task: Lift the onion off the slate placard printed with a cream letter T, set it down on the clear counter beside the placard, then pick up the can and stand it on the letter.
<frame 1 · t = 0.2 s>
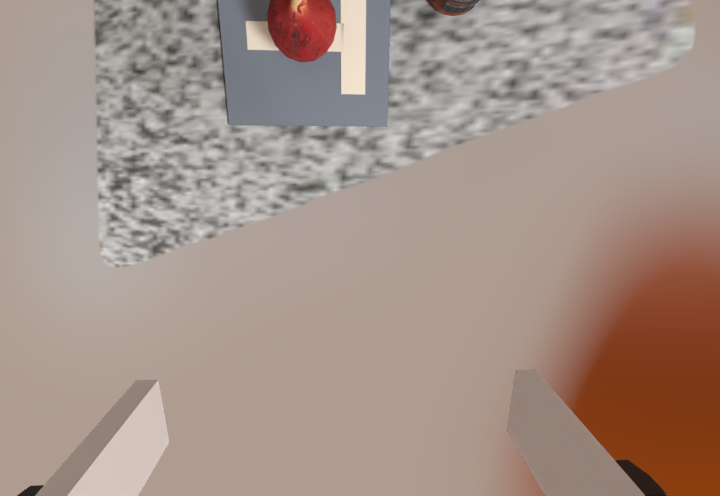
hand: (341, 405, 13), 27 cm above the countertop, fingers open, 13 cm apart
letter card: (306, 38, 34), on the countertop
onion: (306, 37, 34), resting on letter card
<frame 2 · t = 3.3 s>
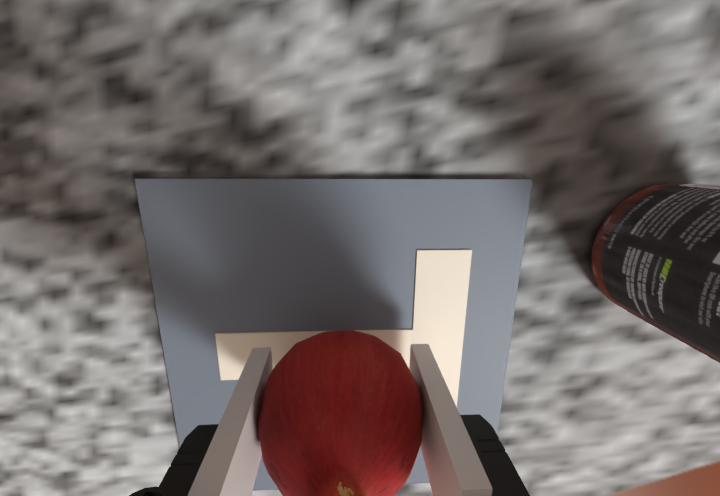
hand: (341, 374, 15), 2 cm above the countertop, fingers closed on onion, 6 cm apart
letter card: (341, 350, 17), on the countertop
supplement bottle: (643, 244, 16), on the countertop
onion: (341, 352, 16), resting on letter card, touching gripper
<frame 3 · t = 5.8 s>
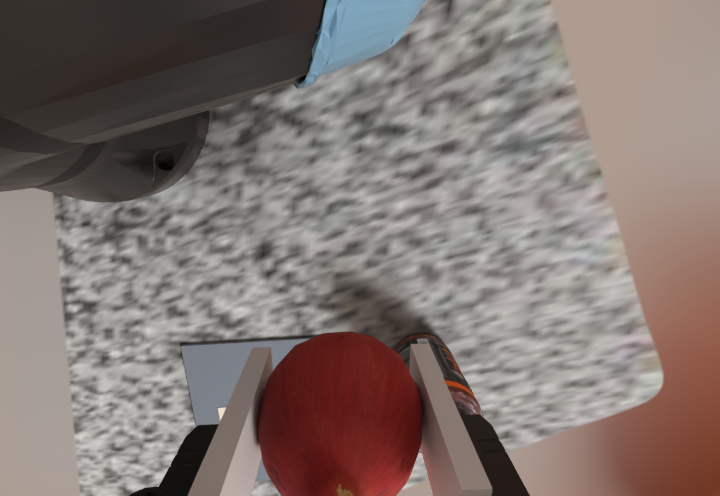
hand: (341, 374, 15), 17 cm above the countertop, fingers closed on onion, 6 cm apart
letter card: (278, 411, 35), on the countertop
supplement bottle: (418, 357, 34), on the countertop
onion: (341, 353, 16), point 15 cm above the countertop, touching gripper
when the fingers open (3 cm above the countertop, at t = 8.5 s): onion drops 1 cm, on the countertop.
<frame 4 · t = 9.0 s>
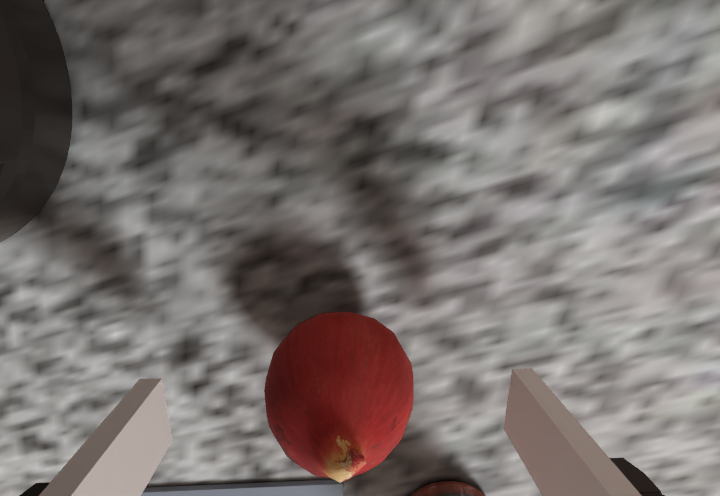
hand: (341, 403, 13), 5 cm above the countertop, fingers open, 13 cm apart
onion: (340, 336, 18), on the countertop
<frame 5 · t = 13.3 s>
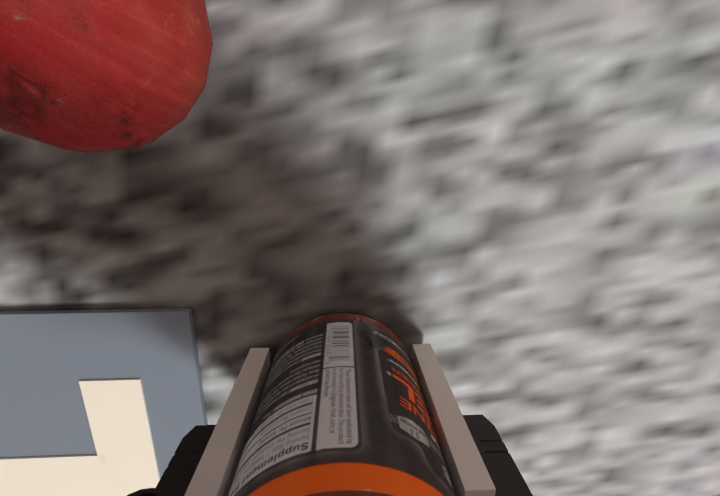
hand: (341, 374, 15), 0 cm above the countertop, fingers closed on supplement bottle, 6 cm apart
letter card: (32, 472, 16), on the countertop
supplement bottle: (342, 365, 15), on the countertop, touching gripper
onion: (157, 59, 12), on the countertop
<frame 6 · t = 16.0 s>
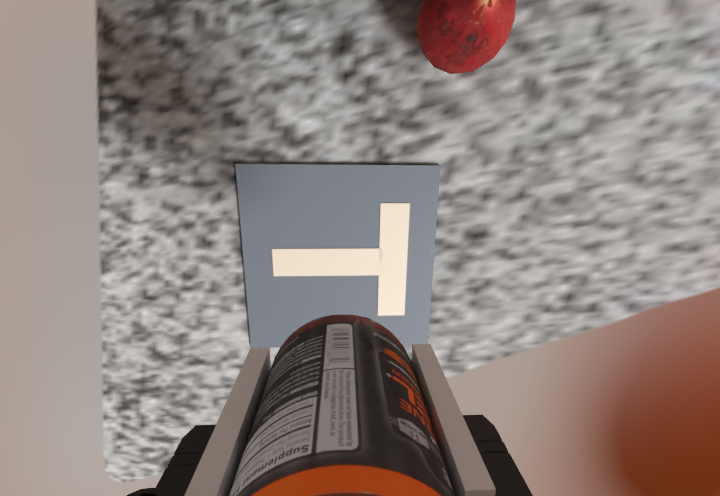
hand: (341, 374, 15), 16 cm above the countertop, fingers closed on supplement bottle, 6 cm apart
letter card: (340, 260, 30), on the countertop
supplement bottle: (342, 367, 15), point 15 cm above the countertop, touching gripper
onion: (446, 39, 26), on the countertop
when the fingers open (2 cm above the countertop, at t = 18.8 s): supplement bottle drops 2 cm, resting on letter card.
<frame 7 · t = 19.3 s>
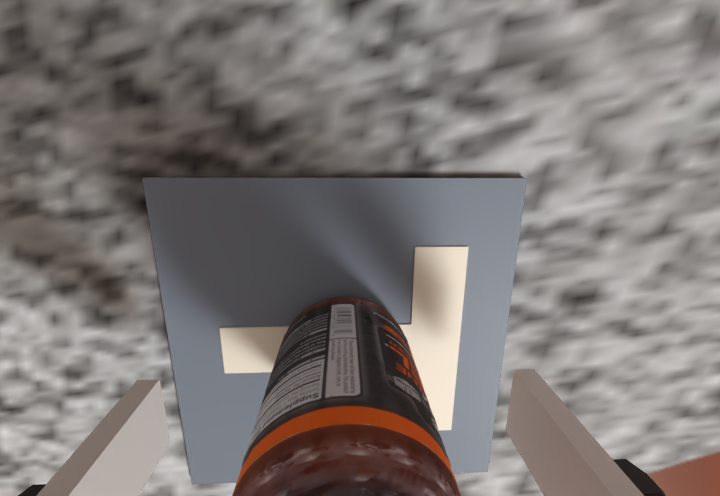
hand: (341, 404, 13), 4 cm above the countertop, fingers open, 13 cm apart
letter card: (341, 344, 17), on the countertop
supplement bottle: (344, 346, 17), resting on letter card
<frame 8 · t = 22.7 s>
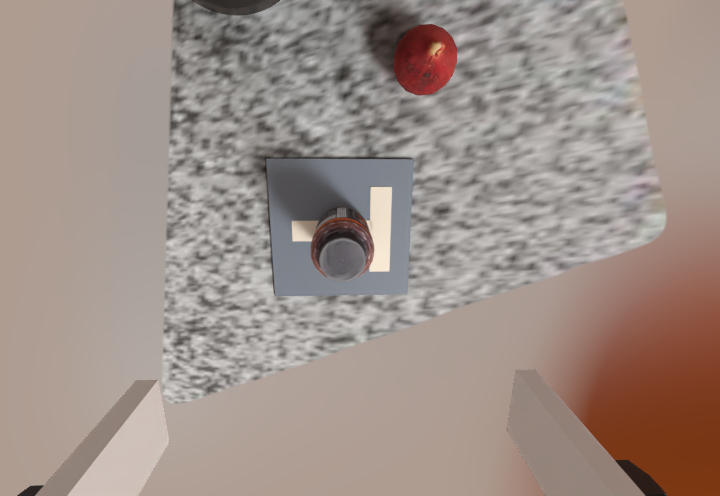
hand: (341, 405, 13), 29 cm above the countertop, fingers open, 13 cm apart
letter card: (341, 230, 41), on the countertop
supplement bottle: (342, 230, 40), resting on letter card
onion: (415, 69, 37), on the countertop
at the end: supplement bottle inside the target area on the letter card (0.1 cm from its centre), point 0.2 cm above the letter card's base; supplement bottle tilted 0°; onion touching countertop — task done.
